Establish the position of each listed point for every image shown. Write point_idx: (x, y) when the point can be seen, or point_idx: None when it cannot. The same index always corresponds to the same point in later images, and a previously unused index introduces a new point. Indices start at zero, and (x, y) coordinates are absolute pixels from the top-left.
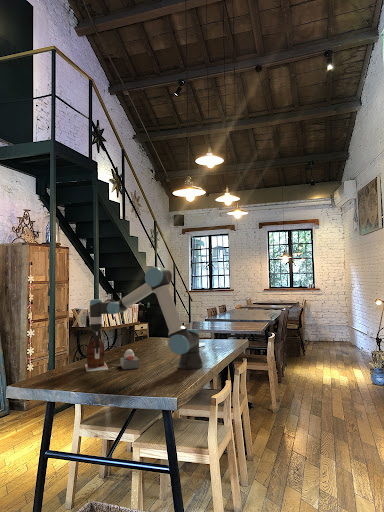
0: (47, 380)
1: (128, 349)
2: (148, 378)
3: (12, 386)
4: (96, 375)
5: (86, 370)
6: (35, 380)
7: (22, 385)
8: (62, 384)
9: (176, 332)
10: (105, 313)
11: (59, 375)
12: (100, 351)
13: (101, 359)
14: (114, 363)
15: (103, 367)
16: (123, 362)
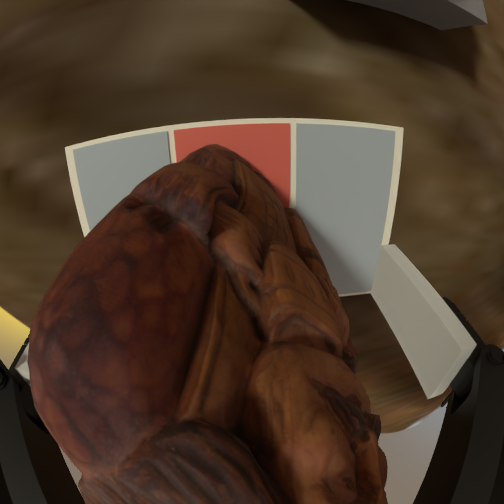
0: (414, 393)
1: None
2: None
3: (405, 429)
4: (490, 232)
5: (354, 294)
6: (385, 417)
7: (414, 418)
8: (492, 339)
9: None
10: None
11: (368, 386)
12: (302, 275)
13: (270, 198)
14: (122, 47)
15: (318, 159)
16: (478, 21)
